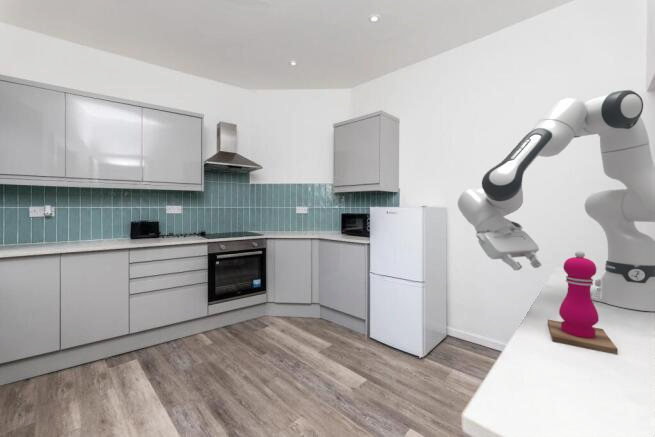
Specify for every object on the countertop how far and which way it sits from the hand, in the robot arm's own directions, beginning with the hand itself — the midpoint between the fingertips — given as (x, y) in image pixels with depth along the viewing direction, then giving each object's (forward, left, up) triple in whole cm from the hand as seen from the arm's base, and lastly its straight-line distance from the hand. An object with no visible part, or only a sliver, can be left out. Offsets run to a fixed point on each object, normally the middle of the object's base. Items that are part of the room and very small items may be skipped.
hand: (528, 267), depth 80 cm
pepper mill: (+6, +10, -14) cm, 18 cm away
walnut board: (+6, +10, -15) cm, 19 cm away
